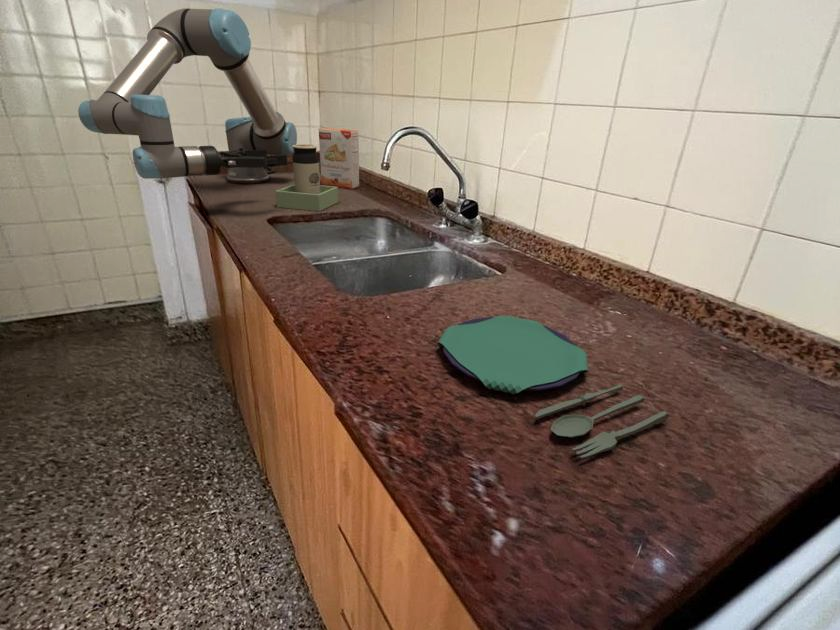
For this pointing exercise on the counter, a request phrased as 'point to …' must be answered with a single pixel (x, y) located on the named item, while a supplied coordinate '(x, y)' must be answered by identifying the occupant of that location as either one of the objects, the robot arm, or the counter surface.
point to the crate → (307, 198)
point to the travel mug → (306, 169)
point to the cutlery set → (534, 371)
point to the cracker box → (339, 157)
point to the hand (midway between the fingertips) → (275, 157)
